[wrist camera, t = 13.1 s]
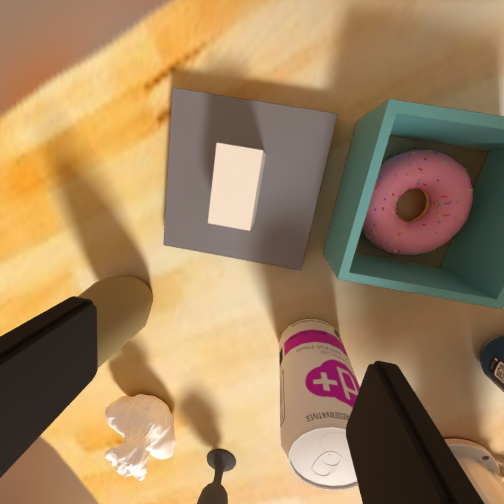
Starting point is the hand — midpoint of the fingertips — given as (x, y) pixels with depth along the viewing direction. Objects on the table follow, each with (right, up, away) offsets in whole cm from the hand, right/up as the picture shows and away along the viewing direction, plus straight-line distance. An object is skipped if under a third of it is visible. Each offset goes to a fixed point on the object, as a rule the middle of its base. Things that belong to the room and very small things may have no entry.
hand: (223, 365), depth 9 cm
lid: (0, +12, +21) cm, 24 cm away
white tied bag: (-14, -21, +32) cm, 41 cm away
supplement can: (+9, -8, +26) cm, 29 cm away
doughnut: (+18, +9, +20) cm, 28 cm away
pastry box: (+18, +9, +20) cm, 28 cm away
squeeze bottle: (-15, -2, +27) cm, 31 cm away
